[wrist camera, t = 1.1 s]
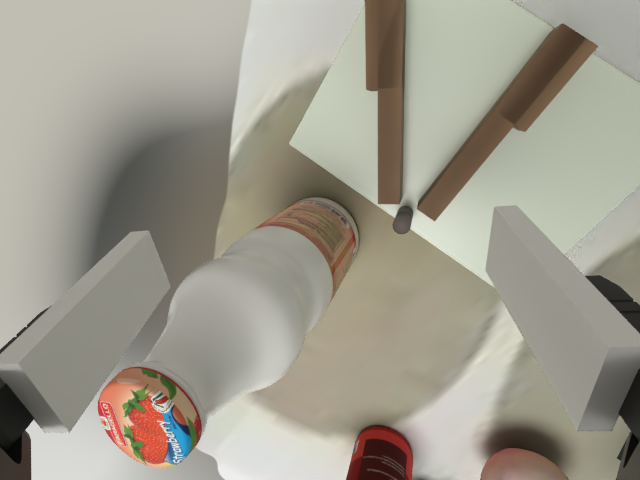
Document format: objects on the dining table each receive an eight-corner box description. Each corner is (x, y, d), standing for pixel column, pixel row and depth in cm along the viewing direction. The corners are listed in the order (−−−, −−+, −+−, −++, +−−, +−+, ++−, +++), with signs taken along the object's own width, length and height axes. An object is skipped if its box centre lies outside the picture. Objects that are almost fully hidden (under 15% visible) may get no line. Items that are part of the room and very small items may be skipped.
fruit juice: (365, 272, 41) (255, 525, 16) (289, 275, 44) (95, 491, 19) (354, 191, 39) (202, 338, 13) (274, 199, 42) (26, 333, 16)
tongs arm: (406, -1, 31) (403, -12, 28) (402, 197, 36) (399, 204, 33) (370, 4, 32) (364, -6, 29) (372, 197, 37) (367, 204, 34)
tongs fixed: (582, 52, 29) (606, 42, 25) (427, 238, 37) (426, 253, 33) (538, 24, 29) (555, 9, 25) (394, 215, 37) (389, 227, 33)
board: (696, 124, 29) (704, 125, 28) (512, 296, 37) (514, 301, 36) (405, -63, 30) (404, -69, 30) (292, 143, 39) (288, 144, 38)
